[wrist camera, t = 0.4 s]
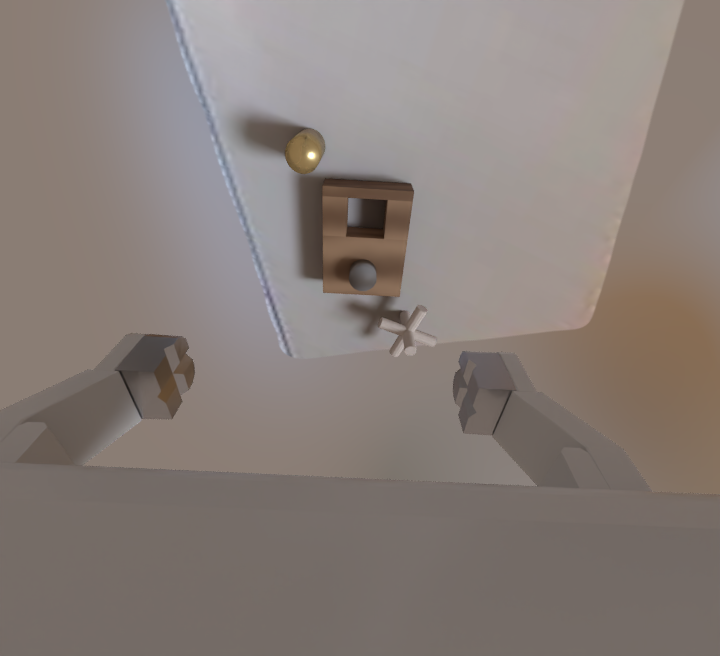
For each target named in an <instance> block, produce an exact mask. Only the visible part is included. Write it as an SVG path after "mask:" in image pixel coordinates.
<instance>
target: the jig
mask: <svg viewBox="0 0 720 656" xmlns="http://www.w3.org/2000/svg"><path fill="white" fill-rule="evenodd" d="M413 195H414V190H413V188H412V185H411V184H407V183H391V182H374V181H358V180H342V179H326V178H325V180H324V183H323V186H322V205H323V293H341V294H359V295H377V296H395V297H399V296H400V289H401V282H402V275H403V267H404V260H405V253H406V246H407V239H408V231H409V224H410V217H411V210H412V203H413ZM348 198H362V199H378V200H386V203H385V214H384V224H383V229H376V228H359V227H347V222H348Z"/></svg>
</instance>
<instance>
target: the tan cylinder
mask: <svg viewBox="0 0 720 656" xmlns="http://www.w3.org/2000/svg"><path fill="white" fill-rule="evenodd" d="M324 152H325V142H324V139H323V137H322V135H321V134H320V133H319V132H318V131H316V130H314V129H304V130H302V131H300V132H299V133H298V134H297V135H296V136H295V137H294V138H293V139H291V140H290V141H289V143H288V144H287V146H286V150H285V157H286V161H287V163H288V165H289V166H290V167H291V168H292V169H293V170H294V171H295V172H297V173H301V174H307V173H310V172H312V171H313V170H315V168H316V167H317V165H318V164H319V162H320V160H321V158H322V156H323V154H324Z"/></svg>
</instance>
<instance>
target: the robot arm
mask: <svg viewBox="0 0 720 656" xmlns="http://www.w3.org/2000/svg"><path fill="white" fill-rule="evenodd" d="M188 349H189V346H188V343H187V340H186V338H184V337H182V336H169V335H155V334H138V333H130V334H127V335H125V337H124V338H123V339H122V340H121V341H120V342H119V343H118V344H117V345H116V346H115V347H114V348H113V349H112V350H111V352H110V353H109V354H108V355H107V356H106V357H105V358H104V359H103V360H102V361H101V362H100V363H99V364H98V365H97V366H96V368H95V369H94V370H86V371H84V372H82V373H79V374H77V375H75V376H73V377H71V378H68V379H66V380H65V381H62V382H60V383H58V384H56V385H53V386H52V387H49V388H47V389H45V390H43V391H41V392H39V393H36V394H34V395H32V396H30V397H28V398H25V399H23V400H21V401H19V402H17V403H15V404H13V405H10V406H8V407H6V408H4V409H2V410H0V656H720V495H719V494H696V493H695V494H694V493H673V492H652V490H651V489H650V487H649V486H648V484H647V483H646V481H645V480H644V479H643V477H642V476H641V474H640V472H639V471H638V470H637V468H636V467H635V465H634V464H633V462H632V461H631V459H630V458H629V456H628V455H627V453H626V452H625V451H624V449H623V448H621V447H620V446H618V445H617V444H616V443H614V442H613V441H611V440H610V439H608V438H607V437H605V436H604V435H603V434H601V433H600V432H598V431H597V430H596V429H594V428H593V427H591V426H590V425H588V424H587V423H585V422H584V421H583V420H581V419H580V418H578V417H577V416H575V415H574V414H573V413H571V412H570V411H568V410H567V409H565V408H564V407H563V406H561V405H560V404H558V403H557V402H555V401H554V400H553V399H551V398H550V397H548V396H547V395H545V394H544V393H542V392H537V391H536V389H535V387H534V386H533V384H532V382H531V380H530V378H529V377H528V375H527V373H526V371H525V369H524V368H523V365H522V364H521V362H520V360H519V358H518V356H517V355H516V354H515V353H506V352H505V353H504V352H497V353H492V352H470V351H463V352H462V354H461V355H460V358H459V365H460V368H461V369H459V370H458V371H457V372H455V376H454V381H453V396H454V400H455V403H456V404H457V405H458V406H459V407H460V411H459V414H458V415H459V419H460V423H461V426H462V430H463V433H466V434H480V435H493V438H494V439H495V440H496V441H497V442H498V443H499V445H500V446H502V448H503V449H504V450H505V451H506V452H507V453H508V454H509V455H510V457H511V458H512V459H513V460H514V461H515V462H516V463H517V464H518V465H519V466H520V467H521V468H522V470H523V471H524V472H525V473H526V474H527V475H528V476H529V477H530V478H531V479H532V480H533V482H534V483H535V484H536V485H537V486H519V485H498V484H476V483H475V484H473V483H453V482H431V481H409V480H388V479H365V478H343V477H321V476H298V475H277V474H254V473H233V472H211V471H189V470H166V469H145V468H123V467H122V468H121V467H100V466H82V465H84V464H85V463H86V462H88V461H89V460H90V459H92V458H93V457H94V456H96V455H97V454H98V453H99V452H101V451H102V450H103V449H105V448H106V447H107V446H109V445H110V444H111V443H113V442H114V441H115V440H116V439H118V438H119V437H120V436H122V435H123V434H124V433H126V432H127V431H128V430H130V429H131V428H132V427H133V426H135V425H136V424H137V423H139V422H140V421H141V420H142V419H173V417H174V415H175V414H176V412H177V410H178V408H179V406H180V405H181V403H182V399H181V396H180V395H182V394H183V393H185V392H186V391H188V390H189V389H190V387H191V385H192V383H193V379H194V375H195V367H194V362H193V359H192V358H191V357H189V356H188V355H187V354H186V352H187V350H188Z"/></svg>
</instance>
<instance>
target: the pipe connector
mask: <svg viewBox="0 0 720 656" xmlns="http://www.w3.org/2000/svg"><path fill="white" fill-rule="evenodd" d="M427 311H428V310H427V309H426V308H425V307H424V306H422V305H418V306H417V307H416V309H415V310H414V312H413V314H412V315H411V317H410V313H409V312H408V311H402V312H401V313H400V321H401V324H400V323H397V322H394V321H392V320H389V319H386V318H383V317H381V318H380V320H379V323H378V328H381V329H384V330H386V331H389V332H392V333H395V334H397V335H399V336H398V338H397V339H396V341H395V342H394V344H393V346H392V347H391V349H390V351H389V352H390V354H391V355H393V356H395V357H397V356H399V354H400V353H401V351H402V350H403V348H404V350H405V354H407V355H409V356H411V355H414V354H415V353H416V345H415V341H416V342H419V343H422V344H425V345H427V346H430V347H434V346H435V344H436V341H437V338H436V337H434V336H432V335H429V334H426V333H424V332H421V331H418V330H416V328H417V327H418V325H419V324H420V322H421V321H422V319H423V318H424V316H425V314H426V313H427Z"/></svg>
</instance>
